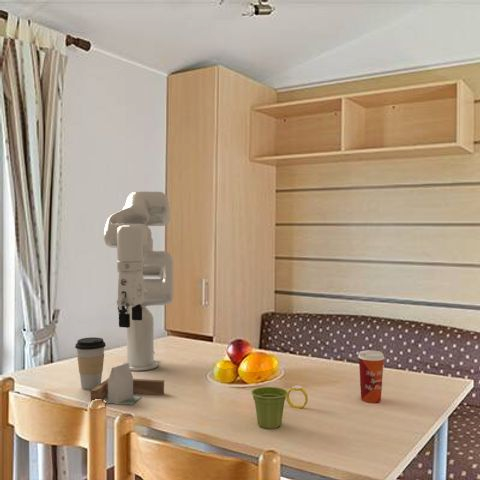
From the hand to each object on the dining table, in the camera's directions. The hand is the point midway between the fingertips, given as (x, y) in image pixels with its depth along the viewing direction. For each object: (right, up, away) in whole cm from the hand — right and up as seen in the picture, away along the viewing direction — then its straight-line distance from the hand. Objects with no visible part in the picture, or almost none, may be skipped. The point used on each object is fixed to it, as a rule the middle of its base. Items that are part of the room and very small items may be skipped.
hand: (130, 323), depth 169 cm
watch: (+49, -23, -9) cm, 55 cm away
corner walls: (0, -22, -2) cm, 22 cm away
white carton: (-2, -22, -3) cm, 22 cm away
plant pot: (+40, -23, -23) cm, 52 cm away
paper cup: (+71, -22, -3) cm, 75 cm away
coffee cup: (-15, -22, +10) cm, 28 cm away
